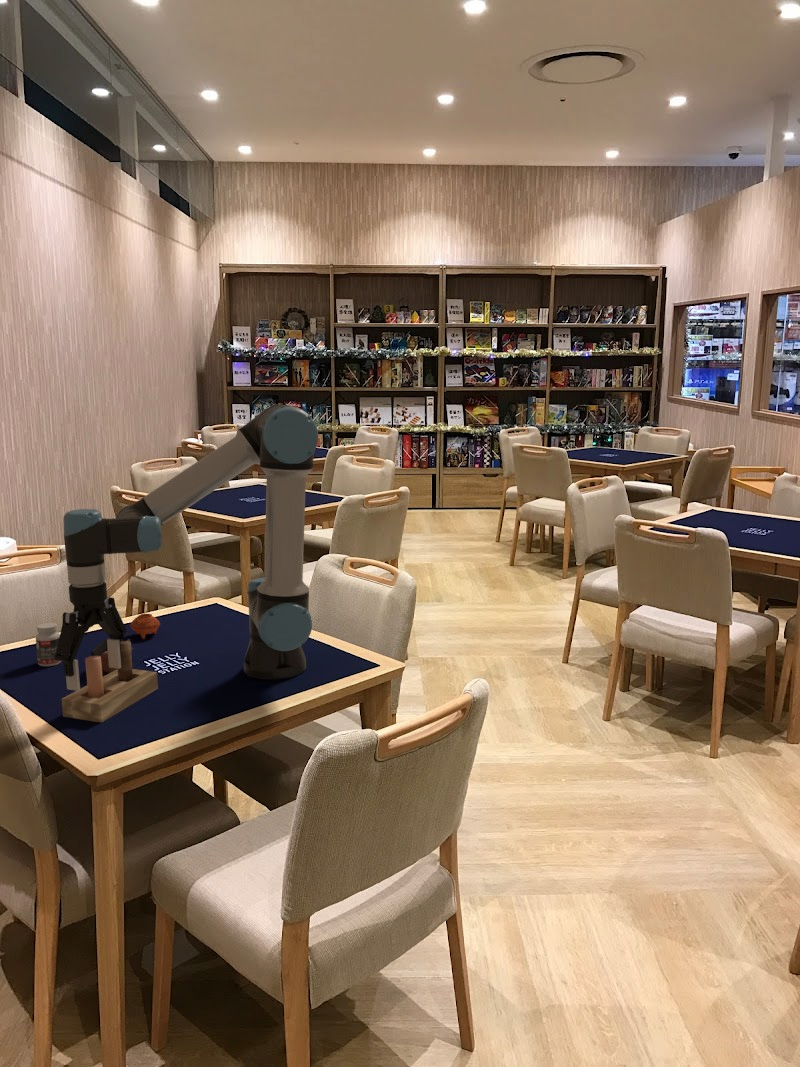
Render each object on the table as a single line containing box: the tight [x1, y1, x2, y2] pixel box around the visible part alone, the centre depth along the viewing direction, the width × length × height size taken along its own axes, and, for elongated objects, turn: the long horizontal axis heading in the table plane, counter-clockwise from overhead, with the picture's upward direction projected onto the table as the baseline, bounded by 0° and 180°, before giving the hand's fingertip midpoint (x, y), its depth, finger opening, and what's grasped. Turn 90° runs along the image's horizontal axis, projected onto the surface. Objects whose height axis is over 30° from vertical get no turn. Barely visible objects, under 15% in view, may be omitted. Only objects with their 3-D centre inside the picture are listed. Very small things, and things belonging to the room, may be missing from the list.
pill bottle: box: [35, 622, 62, 667], centre depth 215 cm, size 6×6×10 cm
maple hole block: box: [61, 668, 159, 723], centre depth 190 cm, size 10×20×4 cm, turn 161°
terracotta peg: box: [84, 655, 104, 699], centre depth 185 cm, size 3×3×12 cm
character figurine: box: [90, 637, 134, 676], centre depth 211 cm, size 8×7×15 cm
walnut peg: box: [118, 640, 133, 682], centre depth 194 cm, size 3×3×12 cm
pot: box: [129, 613, 161, 640], centre depth 236 cm, size 8×8×7 cm
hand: (95, 678), depth 185 cm, fingers open, 13 cm apart
